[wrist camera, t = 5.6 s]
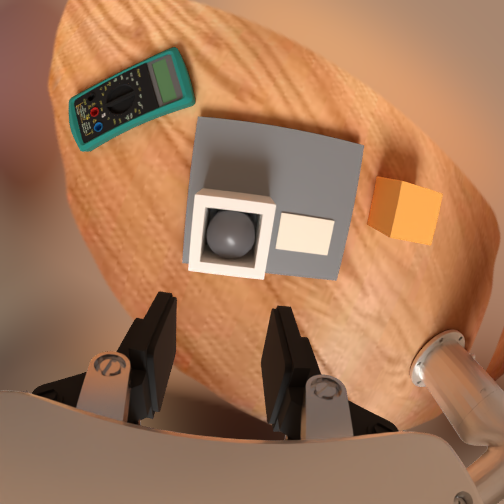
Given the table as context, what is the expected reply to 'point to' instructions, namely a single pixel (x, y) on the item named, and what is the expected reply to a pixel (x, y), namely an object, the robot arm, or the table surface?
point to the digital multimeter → (130, 99)
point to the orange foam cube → (404, 210)
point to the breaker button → (231, 233)
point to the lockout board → (272, 197)
